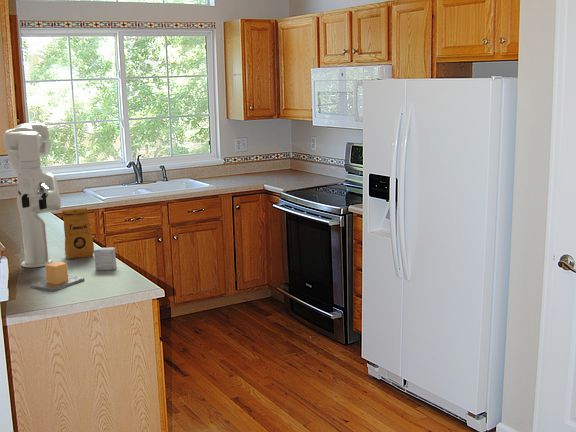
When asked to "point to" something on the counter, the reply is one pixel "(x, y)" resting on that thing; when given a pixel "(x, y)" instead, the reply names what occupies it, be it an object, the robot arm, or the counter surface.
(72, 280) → the base
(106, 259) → the medicine box
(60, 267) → the light orange block
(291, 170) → the counter surface
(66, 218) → the coffee package
